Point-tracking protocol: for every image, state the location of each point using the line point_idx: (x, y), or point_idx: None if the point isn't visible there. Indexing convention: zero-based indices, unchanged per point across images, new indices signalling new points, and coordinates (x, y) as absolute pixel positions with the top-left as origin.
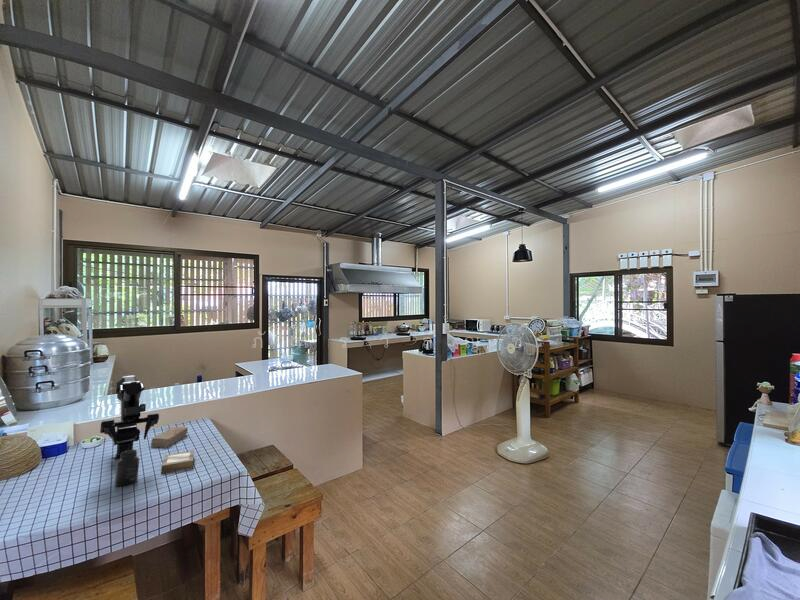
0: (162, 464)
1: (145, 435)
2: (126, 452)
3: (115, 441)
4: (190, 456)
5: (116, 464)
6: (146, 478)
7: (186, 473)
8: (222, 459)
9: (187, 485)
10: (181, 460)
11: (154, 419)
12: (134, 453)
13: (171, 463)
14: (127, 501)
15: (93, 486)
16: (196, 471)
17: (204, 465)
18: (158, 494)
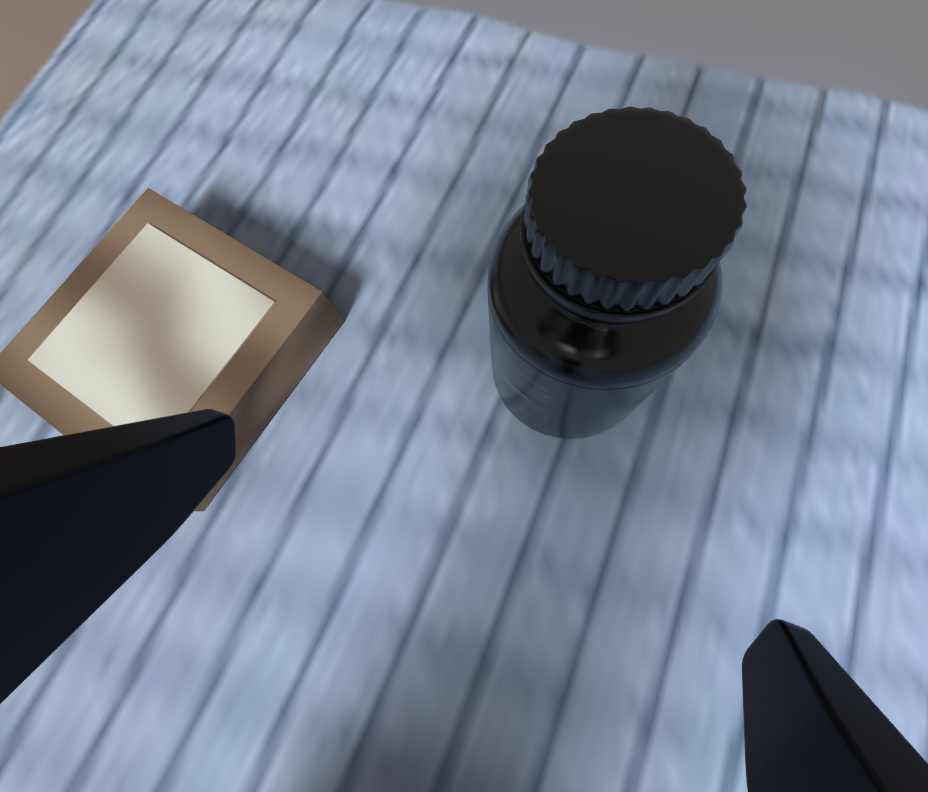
0: (302, 311)
1: (159, 425)
2: (668, 196)
3: (833, 679)
4: (94, 277)
5: (715, 315)
6: (445, 324)
7: (267, 177)
8: (16, 182)
9: (367, 37)
10: (183, 256)
11: None
12: (584, 125)
13: (256, 270)
14: None
15: (751, 538)
16: (219, 154)
17: (132, 193)
18: (514, 60)
